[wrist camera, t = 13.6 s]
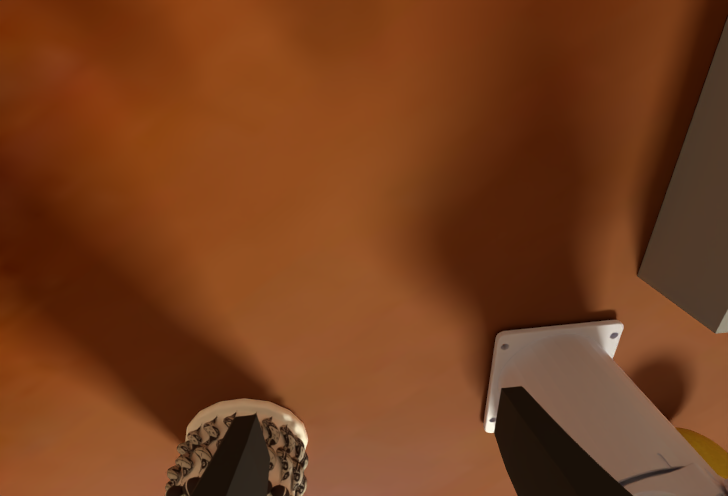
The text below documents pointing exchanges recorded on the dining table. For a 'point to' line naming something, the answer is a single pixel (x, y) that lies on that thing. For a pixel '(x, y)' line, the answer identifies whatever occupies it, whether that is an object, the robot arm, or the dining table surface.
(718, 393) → the dining table surface
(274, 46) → the dining table surface
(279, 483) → the decorative candle
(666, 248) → the grey rectangular bar
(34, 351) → the dining table surface
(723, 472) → the lemon
